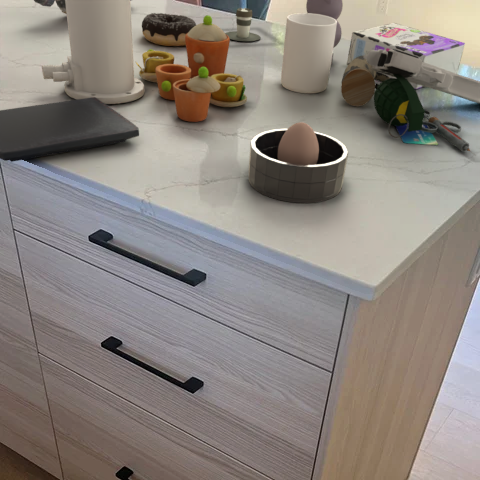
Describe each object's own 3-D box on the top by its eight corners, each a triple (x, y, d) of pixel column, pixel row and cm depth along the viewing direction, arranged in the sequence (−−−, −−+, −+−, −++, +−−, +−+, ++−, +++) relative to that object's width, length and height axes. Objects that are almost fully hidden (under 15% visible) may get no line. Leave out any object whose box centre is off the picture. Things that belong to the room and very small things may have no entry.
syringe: (451, 161, 90) (455, 149, 89) (393, 114, 102) (396, 102, 101) (495, 161, 93) (500, 149, 91) (433, 114, 104) (437, 104, 103)
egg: (293, 166, 84) (300, 112, 79) (322, 179, 82) (331, 125, 77) (267, 176, 81) (272, 121, 77) (296, 190, 79) (303, 134, 74)
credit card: (393, 122, 100) (393, 122, 100) (426, 124, 101) (426, 124, 100) (403, 143, 94) (403, 142, 94) (438, 145, 95) (438, 144, 94)
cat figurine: (344, 66, 120) (356, -9, 112) (307, 67, 118) (316, -9, 110) (325, 53, 126) (336, -19, 117) (289, 54, 124) (297, -20, 115)
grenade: (362, 113, 103) (394, 145, 95) (368, 68, 98) (402, 98, 90) (397, 108, 104) (431, 139, 96) (404, 64, 99) (441, 93, 91)
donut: (156, 50, 121) (156, 26, 118) (132, 34, 128) (130, 11, 125) (207, 45, 125) (208, 22, 122) (181, 30, 132) (181, 8, 129)
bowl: (269, 207, 76) (272, 170, 73) (235, 166, 84) (237, 131, 81) (358, 197, 80) (365, 162, 77) (317, 159, 88) (322, 125, 84)
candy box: (425, 54, 109) (350, 31, 117) (416, 91, 113) (345, 66, 121) (466, 41, 116) (393, 20, 124) (456, 76, 120) (386, 54, 128)
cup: (294, 95, 107) (302, 26, 99) (262, 74, 114) (267, 8, 107) (336, 91, 109) (346, 24, 102) (302, 71, 117) (309, 6, 110)
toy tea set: (131, 72, 110) (128, 7, 103) (216, 69, 114) (218, 6, 107) (172, 128, 93) (171, 54, 86) (269, 121, 97) (276, 51, 90)
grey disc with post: (227, 46, 126) (228, 17, 122) (205, 30, 133) (206, 2, 130) (281, 43, 130) (284, 15, 126) (257, 28, 137) (259, 1, 134)
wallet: (144, 143, 88) (95, 108, 96) (143, 129, 86) (93, 95, 95) (2, 171, 79) (-38, 130, 87) (-1, 155, 77) (-41, 115, 86)
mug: (347, 63, 101) (352, 47, 109) (334, 99, 104) (340, 80, 113) (393, 80, 101) (395, 63, 110) (379, 115, 105) (381, 96, 113)
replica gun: (355, 43, 104) (349, 65, 106) (392, 46, 91) (384, 70, 92) (501, 91, 112) (493, 110, 114) (554, 99, 99) (545, 121, 101)
